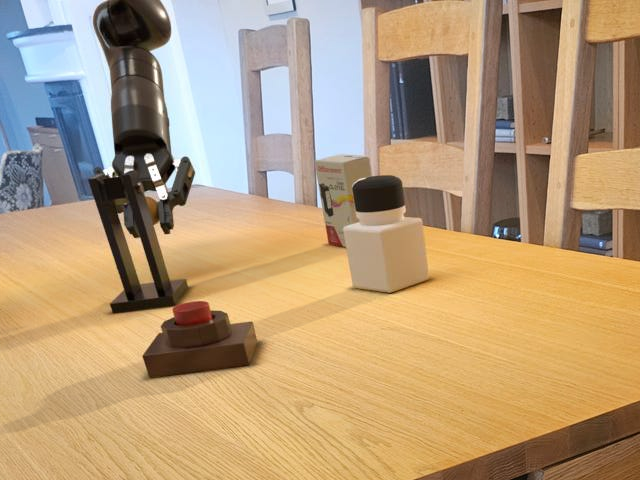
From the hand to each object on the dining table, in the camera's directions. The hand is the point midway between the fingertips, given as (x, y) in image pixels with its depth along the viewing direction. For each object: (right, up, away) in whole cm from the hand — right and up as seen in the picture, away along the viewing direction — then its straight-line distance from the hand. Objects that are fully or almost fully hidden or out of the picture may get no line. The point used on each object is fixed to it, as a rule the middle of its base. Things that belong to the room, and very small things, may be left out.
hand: (150, 231), depth 114 cm
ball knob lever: (0, 0, -5) cm, 5 cm away
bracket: (+2, -11, -3) cm, 11 cm away
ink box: (+26, +6, +15) cm, 31 cm away
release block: (+17, -27, -28) cm, 42 cm away
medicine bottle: (+34, -11, -9) cm, 37 cm away
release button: (+17, -24, -30) cm, 42 cm away
